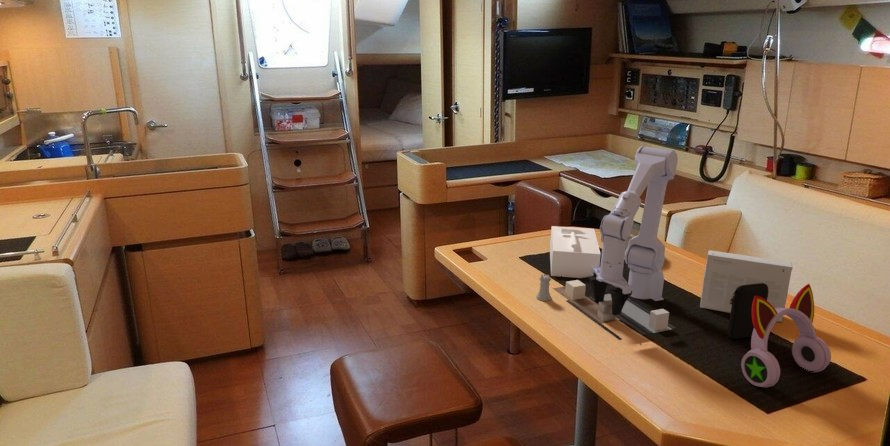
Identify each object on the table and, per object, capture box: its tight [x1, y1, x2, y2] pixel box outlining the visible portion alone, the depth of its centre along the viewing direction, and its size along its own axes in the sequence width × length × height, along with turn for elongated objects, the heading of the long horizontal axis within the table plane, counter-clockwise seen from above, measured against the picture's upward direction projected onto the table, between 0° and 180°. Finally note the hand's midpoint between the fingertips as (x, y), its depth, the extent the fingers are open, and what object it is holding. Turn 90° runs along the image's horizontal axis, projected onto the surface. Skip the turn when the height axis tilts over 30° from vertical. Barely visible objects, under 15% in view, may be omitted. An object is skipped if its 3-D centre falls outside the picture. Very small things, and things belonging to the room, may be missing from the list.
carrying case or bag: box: [726, 283, 769, 340], centre depth 160 cm, size 11×3×15 cm, turn 106°
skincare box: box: [699, 249, 793, 323], centre depth 175 cm, size 21×6×16 cm, turn 65°
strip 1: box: [552, 285, 621, 325], centre depth 177 cm, size 6×24×6 cm, turn 22°
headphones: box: [740, 283, 832, 388], centre depth 142 cm, size 20×10×20 cm, turn 115°
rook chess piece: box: [535, 273, 552, 302], centre depth 179 cm, size 4×4×8 cm
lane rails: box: [565, 296, 677, 341], centre depth 171 cm, size 18×24×1 cm
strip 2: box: [604, 293, 672, 334], centre depth 172 cm, size 6×24×6 cm, turn 22°
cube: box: [565, 279, 587, 300], centre depth 181 cm, size 4×4×4 cm
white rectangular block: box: [549, 225, 602, 279], centre depth 208 cm, size 14×25×11 cm, turn 172°
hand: (607, 308), depth 168 cm, fingers open, 7 cm apart
